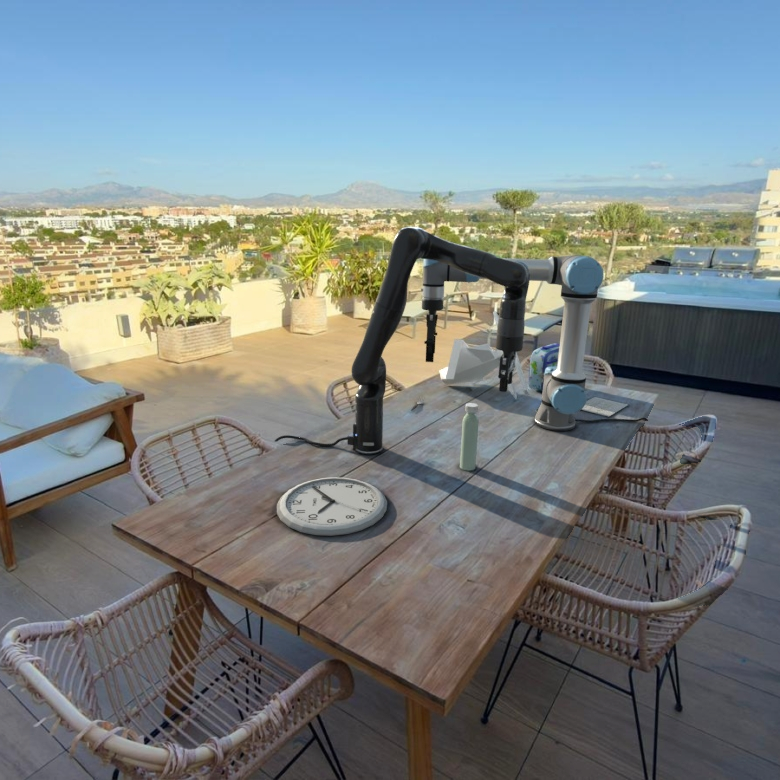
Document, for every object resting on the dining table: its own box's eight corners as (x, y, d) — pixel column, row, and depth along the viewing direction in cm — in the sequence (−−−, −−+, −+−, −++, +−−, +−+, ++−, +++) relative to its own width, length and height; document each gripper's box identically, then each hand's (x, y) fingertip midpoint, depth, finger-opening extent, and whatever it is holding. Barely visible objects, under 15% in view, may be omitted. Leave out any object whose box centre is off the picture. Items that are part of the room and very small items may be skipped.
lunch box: (544, 395, 239) (549, 351, 233) (524, 390, 247) (528, 347, 240) (571, 384, 257) (577, 343, 251) (552, 380, 264) (556, 339, 258)
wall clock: (392, 527, 129) (268, 531, 127) (391, 533, 130) (269, 537, 127) (383, 473, 158) (282, 475, 155) (383, 478, 158) (282, 480, 156)
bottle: (468, 462, 170) (472, 402, 164) (478, 468, 166) (483, 406, 160) (456, 466, 168) (460, 405, 161) (466, 471, 164) (471, 409, 158)
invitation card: (608, 416, 214) (573, 407, 224) (608, 416, 214) (573, 408, 224) (628, 404, 229) (594, 396, 238) (628, 405, 229) (594, 397, 238)
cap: (471, 407, 164) (472, 402, 163) (480, 411, 161) (480, 405, 160) (462, 410, 162) (462, 404, 161) (470, 413, 159) (471, 407, 158)
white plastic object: (461, 429, 252) (437, 405, 227) (444, 352, 274) (420, 323, 250) (535, 404, 240) (518, 377, 215) (510, 326, 262) (492, 293, 237)
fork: (408, 411, 216) (408, 407, 215) (419, 400, 230) (419, 396, 229) (414, 412, 215) (414, 407, 214) (425, 401, 229) (425, 396, 229)
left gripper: (501, 328, 157) (497, 379, 162) (492, 336, 144) (488, 392, 149) (526, 330, 154) (521, 382, 159) (520, 339, 142) (514, 395, 147)
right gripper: (424, 293, 195) (422, 349, 202) (419, 302, 172) (417, 365, 178) (444, 294, 195) (441, 350, 201) (442, 303, 171) (439, 366, 177)
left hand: (505, 387), depth 154 cm, fingers open, 8 cm apart
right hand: (430, 357), depth 190 cm, fingers open, 13 cm apart
